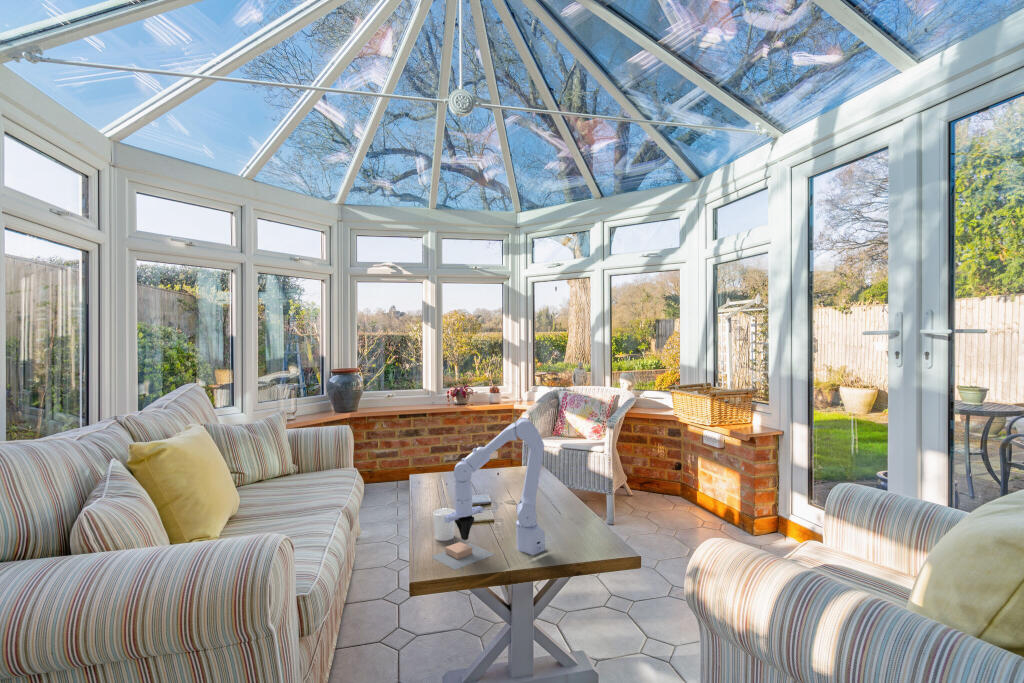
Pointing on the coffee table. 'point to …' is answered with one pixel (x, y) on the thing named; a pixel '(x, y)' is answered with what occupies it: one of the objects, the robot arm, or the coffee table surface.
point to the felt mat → (458, 563)
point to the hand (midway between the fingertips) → (464, 539)
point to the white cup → (443, 524)
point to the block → (458, 550)
